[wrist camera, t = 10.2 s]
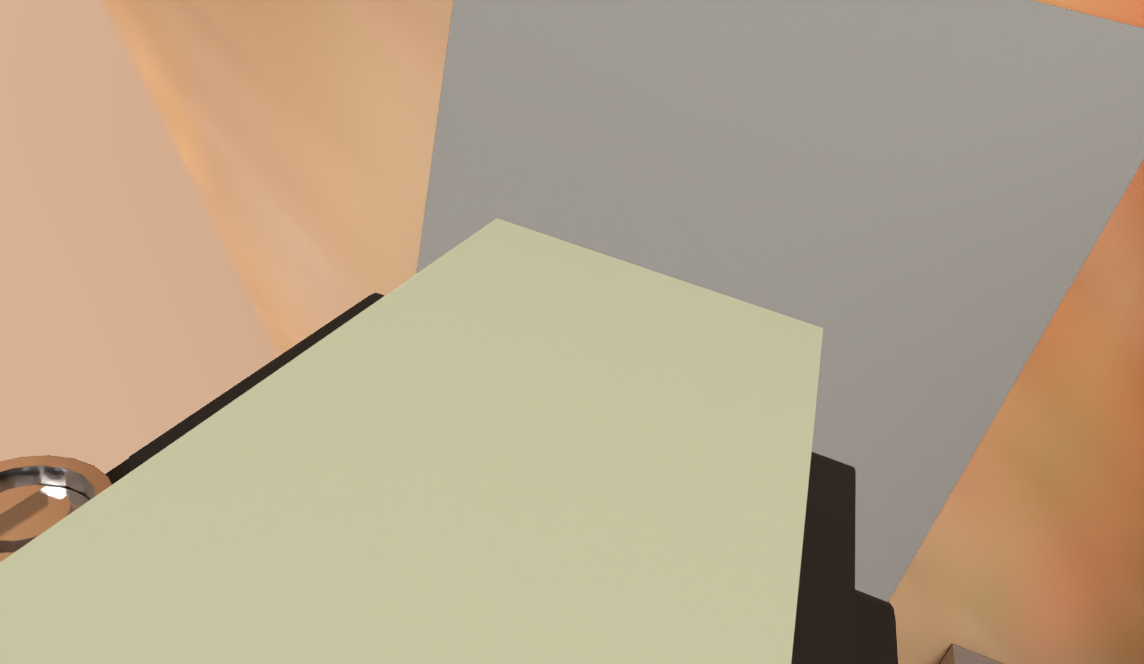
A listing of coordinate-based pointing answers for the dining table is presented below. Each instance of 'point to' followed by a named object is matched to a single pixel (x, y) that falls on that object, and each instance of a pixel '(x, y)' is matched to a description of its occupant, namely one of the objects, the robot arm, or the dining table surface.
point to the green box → (463, 487)
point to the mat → (815, 189)
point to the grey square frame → (964, 657)
